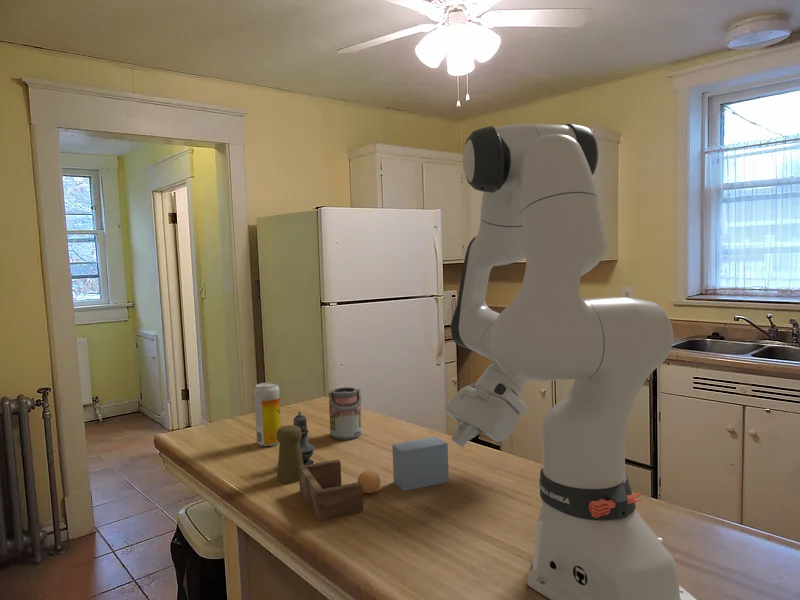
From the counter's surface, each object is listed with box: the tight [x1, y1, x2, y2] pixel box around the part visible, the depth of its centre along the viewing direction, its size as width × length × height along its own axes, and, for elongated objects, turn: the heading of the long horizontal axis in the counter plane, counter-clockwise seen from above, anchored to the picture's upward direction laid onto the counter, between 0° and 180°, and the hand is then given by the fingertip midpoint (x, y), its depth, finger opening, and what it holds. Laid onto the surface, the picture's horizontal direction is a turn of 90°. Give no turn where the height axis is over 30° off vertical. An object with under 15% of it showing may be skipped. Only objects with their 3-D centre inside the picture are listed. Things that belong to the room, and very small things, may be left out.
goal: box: [299, 459, 364, 521], centre depth 108 cm, size 14×8×5 cm, turn 23°
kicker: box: [391, 436, 450, 492], centre depth 115 cm, size 5×10×8 cm, turn 113°
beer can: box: [253, 382, 282, 448], centre depth 142 cm, size 6×6×15 cm
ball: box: [357, 469, 381, 495], centre depth 111 cm, size 4×4×4 cm
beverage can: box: [327, 386, 363, 441], centre depth 146 cm, size 9×8×12 cm
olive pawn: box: [276, 424, 304, 484], centre depth 120 cm, size 6×6×11 cm
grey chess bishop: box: [293, 411, 315, 465], centre depth 128 cm, size 6×6×12 cm
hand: (456, 443), depth 118 cm, fingers closed
